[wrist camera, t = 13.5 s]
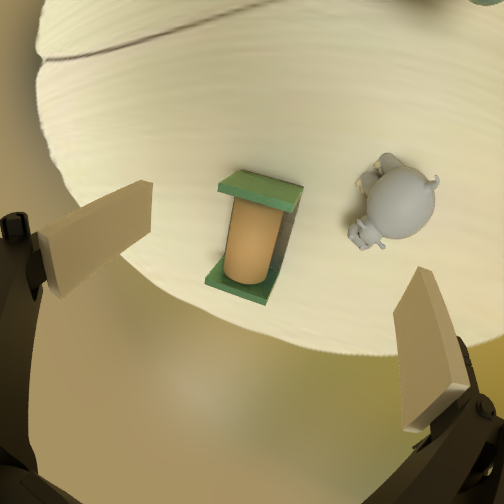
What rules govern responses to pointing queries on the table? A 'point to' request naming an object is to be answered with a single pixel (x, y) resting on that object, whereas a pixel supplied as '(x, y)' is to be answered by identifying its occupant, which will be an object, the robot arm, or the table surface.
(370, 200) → the hippopotamus toy
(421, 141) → the table surface
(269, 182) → the holder
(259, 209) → the cylinder
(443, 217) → the table surface
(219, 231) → the table surface
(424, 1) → the table surface
